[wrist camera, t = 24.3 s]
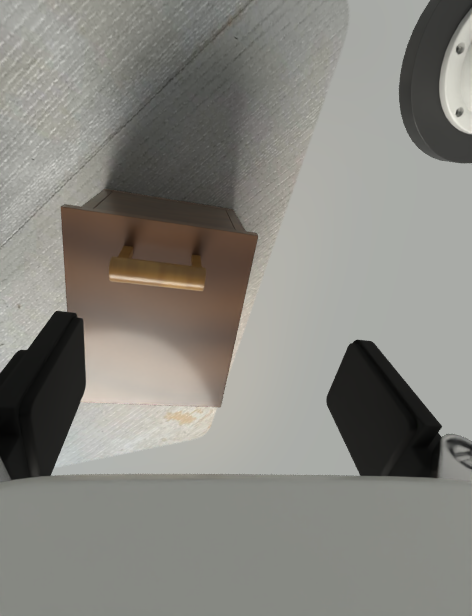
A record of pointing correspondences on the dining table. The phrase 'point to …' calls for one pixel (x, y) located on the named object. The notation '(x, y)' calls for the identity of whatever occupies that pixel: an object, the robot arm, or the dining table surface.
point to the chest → (165, 209)
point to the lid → (155, 304)
